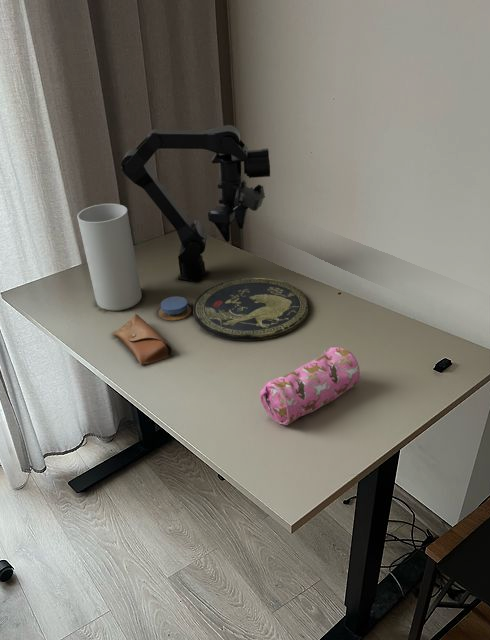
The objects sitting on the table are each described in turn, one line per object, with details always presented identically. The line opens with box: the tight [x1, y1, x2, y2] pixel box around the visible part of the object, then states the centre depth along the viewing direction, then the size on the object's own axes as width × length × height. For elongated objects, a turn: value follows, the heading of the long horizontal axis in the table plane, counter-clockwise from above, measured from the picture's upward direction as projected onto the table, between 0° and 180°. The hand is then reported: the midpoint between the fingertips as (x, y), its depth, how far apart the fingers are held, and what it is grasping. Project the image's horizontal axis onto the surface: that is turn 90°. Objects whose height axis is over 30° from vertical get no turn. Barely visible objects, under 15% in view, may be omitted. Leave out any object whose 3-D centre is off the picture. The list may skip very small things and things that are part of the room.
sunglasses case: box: [112, 313, 173, 366], centre depth 146 cm, size 18×7×7 cm, turn 32°
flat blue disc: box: [160, 296, 189, 315], centre depth 158 cm, size 7×7×2 cm
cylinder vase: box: [76, 203, 143, 312], centre depth 159 cm, size 12×12×25 cm
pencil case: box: [259, 346, 361, 426], centre depth 122 cm, size 21×9×9 cm, turn 128°
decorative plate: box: [192, 277, 309, 342], centre depth 156 cm, size 30×2×30 cm
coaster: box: [158, 305, 192, 322], centre depth 159 cm, size 9×9×1 cm
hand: (234, 234), depth 167 cm, fingers open, 9 cm apart
